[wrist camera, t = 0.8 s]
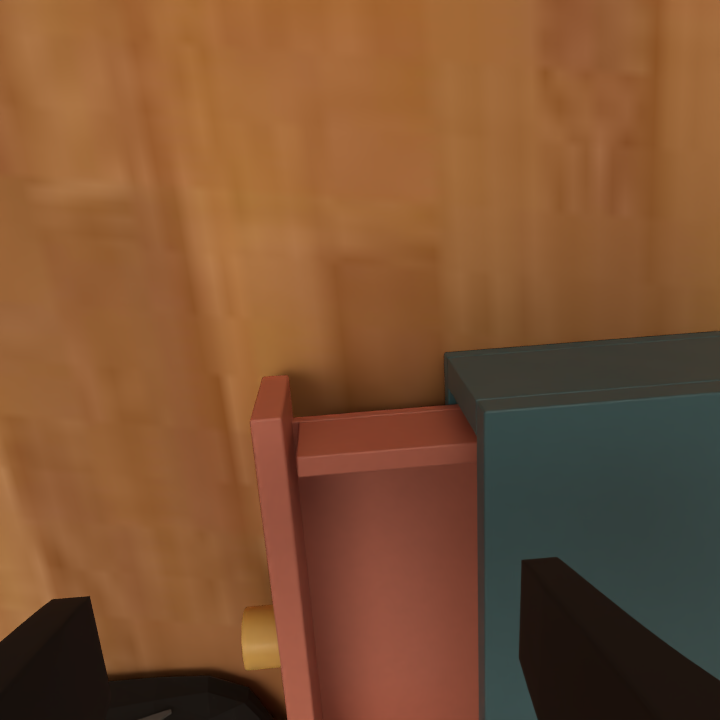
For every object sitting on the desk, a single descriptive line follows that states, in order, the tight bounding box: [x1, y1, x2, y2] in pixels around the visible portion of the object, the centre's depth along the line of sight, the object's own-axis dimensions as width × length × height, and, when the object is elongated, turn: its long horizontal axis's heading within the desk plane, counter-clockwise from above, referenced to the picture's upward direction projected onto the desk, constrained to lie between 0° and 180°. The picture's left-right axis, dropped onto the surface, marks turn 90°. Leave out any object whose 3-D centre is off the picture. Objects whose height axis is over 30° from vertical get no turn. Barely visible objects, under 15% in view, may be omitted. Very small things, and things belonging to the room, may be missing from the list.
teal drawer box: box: [444, 331, 720, 720], centre depth 19 cm, size 16×11×6 cm
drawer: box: [241, 375, 479, 720], centre depth 19 cm, size 16×12×3 cm
